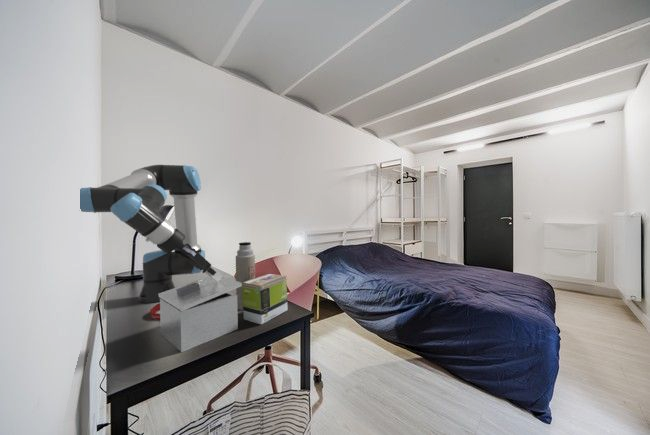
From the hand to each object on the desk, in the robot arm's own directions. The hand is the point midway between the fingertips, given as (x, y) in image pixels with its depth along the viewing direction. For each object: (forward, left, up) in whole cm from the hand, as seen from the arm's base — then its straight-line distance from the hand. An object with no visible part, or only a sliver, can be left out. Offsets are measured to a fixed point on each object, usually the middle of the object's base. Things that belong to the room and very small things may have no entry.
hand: (219, 278), depth 88 cm
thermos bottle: (-15, +10, -17) cm, 25 cm away
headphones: (-22, -17, -17) cm, 33 cm away
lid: (+3, -6, -3) cm, 7 cm away
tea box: (-2, +17, -17) cm, 24 cm away
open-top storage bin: (+3, -6, -17) cm, 18 cm away
